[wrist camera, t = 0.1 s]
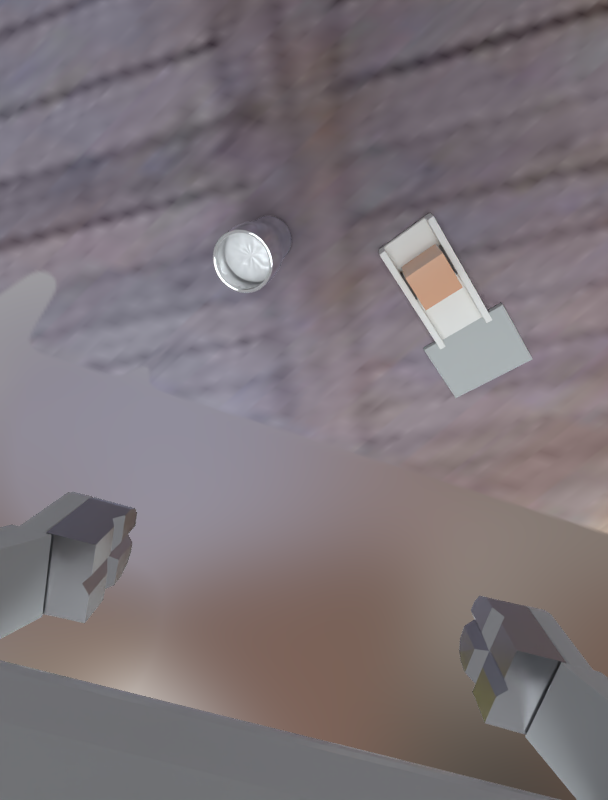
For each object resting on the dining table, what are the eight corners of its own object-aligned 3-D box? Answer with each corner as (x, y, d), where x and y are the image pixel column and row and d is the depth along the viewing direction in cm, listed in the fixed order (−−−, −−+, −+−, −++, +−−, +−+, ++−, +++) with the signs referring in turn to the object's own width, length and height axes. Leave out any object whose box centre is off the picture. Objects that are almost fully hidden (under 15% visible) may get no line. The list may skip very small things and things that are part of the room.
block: (434, 243, 52) (442, 252, 47) (453, 275, 54) (462, 287, 48) (401, 267, 54) (405, 278, 49) (419, 296, 56) (425, 310, 50)
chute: (429, 212, 51) (433, 216, 48) (485, 311, 56) (492, 319, 53) (378, 249, 54) (379, 254, 51) (436, 340, 59) (440, 349, 57)
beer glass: (253, 203, 53) (218, 216, 40) (301, 223, 54) (283, 242, 41) (240, 254, 57) (204, 281, 44) (285, 272, 57) (263, 304, 44)
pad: (500, 302, 56) (502, 304, 55) (530, 356, 59) (532, 359, 58) (423, 347, 60) (424, 350, 60) (454, 395, 64) (455, 398, 63)
